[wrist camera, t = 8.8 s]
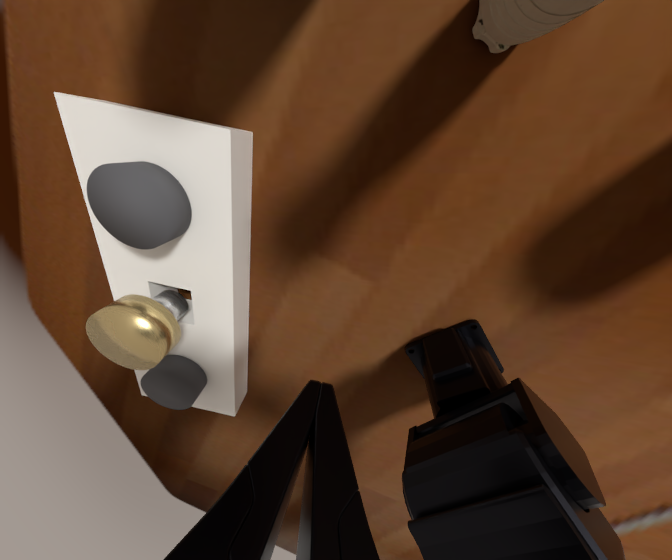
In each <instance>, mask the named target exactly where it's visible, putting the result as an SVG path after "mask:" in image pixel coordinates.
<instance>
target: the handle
mask: <svg viewBox="0 0 672 560" xmlns="http://www.w3.org/2000/svg"><path fill="white" fill-rule="evenodd" d="M603 1H604V0H479V13H478V17H477V20H476V23H475V25H474V27H473V29H472V31H473V35H474V38H475V39H480V40H482V41H484V42H485V43H486V44H487V45H488V47H489V51H490V52H491V53H500V52H503V51H505V50H507V49H508V48H509V47H510V46H511V45H516V44H521V43H524V42H528V41H530V40H533V39H535V38H538V37H540V36H542V35H545V34H547V33H549V32H551V31H553V30H554V29H557V28H558V27H560V26H562V25H564V24H566V23H568V22H569V21H571V20H573V19H575V18H576V17H578V16H580V15H581V14H583V13H585V12H586V11H588V10H590V9H591V8H593V7H595V6H596V5H598V4H599V3H601V2H603Z"/></svg>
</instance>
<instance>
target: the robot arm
mask: <svg viewBox="0 0 672 560" xmlns="http://www.w3.org/2000/svg"><path fill="white" fill-rule="evenodd" d="M472 325H475V326H473V327H471V326H472ZM410 349H413V350H410ZM405 351H406V354H407V355H408V356H409V358H410V359H411V361H412V362H413V364H414V365H415V366H416V368H417V369H418V371H419V372H420V373H421V375H422V376H423V378H424V379H425V382H426V386H427V391H428V395H429V399H430V403H431V407H432V412H433V416H434V419H433V420H430V421H428V422H426V423H424V424H422V425H420V426H418V427H417V426H414V427H412V428H410V429H409V435H408V442H407V450H406V457H405V464H404V471H403V473H402V482H403V494H404V498H405V503H406V506H407V509H408V512H409V514H410V517H411V519H412V520H410V521H408V528H409V530H410V532H411V534H412V536H413V537H414V539H415V541H416V543H417V545H418V547H419V549H420V551H421V554H422V556H423V558H424V560H625V555H624V551H623V547H622V544H621V541H620V539H619V538H618V536H617V534H616V533H615V531H614V530H613V528H612V527H611V525H610V524H609V523H608V521H607V520H606V518H605V517H604V515H603V514H602V512H601V511H600V510H599V507H603V506H606V503H605V500H604V497H603V495H602V492H601V490H600V488H599V485H598V483H597V480H596V478H595V476H594V473H593V471H592V468H591V466H590V463H589V461H588V459H587V456H586V454H585V452H584V450H583V449H582V447H581V446H580V445H579V443H578V442H577V441H576V439H575V438H574V437H573V435H572V434H571V433H570V431H569V430H568V429H567V427H566V426H565V425H564V423H563V422H562V421H561V419H560V418H559V417H558V416H557V414H556V413H555V412H554V411H553V410H552V409H551V408H550V407H548V406H547V405H546V404H545V403H544V402H543V401H542V400H541V399H540V398H539V397H538V396H537V395H536V394H535V393H534V392H533V391H532V390H531V389H530V388H529V387H528V386H527V385H526V384H525V383H524V382H523V381H522V380H521V379H520V378H517V379H515V380H513V381H511V383H510V384H507V382H506V381H505V379H504V377H503V376H502V374H501V373H503V371H504V369H503V367H502V365H501V363H500V361H499V359H498V358H497V356H496V354H495V352H494V350H493V348H492V346H491V344H490V343H489V341H488V339H487V337H486V335H485V333H484V331H483V329H482V328H481V326H480V324H479V322H478V321H477V320H473V319H472V320H469V321H466V322H464V323H461V324H459V325H456V326H454V327H451V328H449V329H446V330H443V331H441V332H438V333H436V334H433V335H431V336H428V337H426V338H423V339H421V340H418V341H416V342H413V343H411V344H408V345H407V346H406V347H405ZM309 436H310V437H309ZM308 441H309V442H308ZM307 445H308V448H307ZM306 448H307V456H306V466H305V476H304V486H303V496H302V506H301V516H300V526H299V536H298V546H297V556H296V560H380V559H379V556H378V553H377V550H376V547H375V544H374V541H373V538H372V535H371V532H370V529H369V525H368V521H367V518H366V514H365V511H364V507H363V503H362V499H361V495H360V492H359V491H358V489H359V488H358V484H357V480H356V476H355V472H354V468H353V464H352V460H351V456H350V452H349V448H348V444H347V440H346V436H345V432H344V428H343V424H342V420H341V416H340V412H339V408H338V404H337V400H336V396H335V392H334V388H333V386H332V384H329V383H324V382H323V383H321V382H319V381H315V380H310V381H309V382H308V383H307V384H306V386H305V387H304V388H303V390H302V391H301V392H300V394H299V395H298V396H297V398H296V399H295V400H294V402H293V403H292V404H291V406H290V407H289V408H288V410H287V411H286V412H285V414H284V415H283V416H282V418H281V419H280V420H279V422H278V423H277V424H276V426H275V427H274V428H273V430H272V431H271V432H270V434H269V435H268V436H267V438H266V439H265V440H264V441H263V443H262V444H261V445H260V447H259V448H258V449H257V451H256V452H255V453H254V455H253V456H252V457H251V459H250V460H249V461H248V463H247V465H245V466H244V468H243V469H242V470H241V472H240V473H239V474H238V476H237V477H236V478H235V480H234V481H233V482H232V483H231V485H230V486H229V487H228V488H227V490H226V491H225V492H224V493H223V495H222V496H221V497H220V498H219V499H218V500H217V501H216V503H215V504H214V505H213V506H212V507H211V508H210V509H209V511H208V512H207V513H206V514H205V515H204V516H203V517H202V518H201V519H200V521H199V522H198V523H197V524H196V525H195V526H194V527H193V528H192V529H191V530H190V531H189V532H188V534H187V535H186V536H185V537H184V538H183V539H182V540H181V541H180V543H178V544H177V546H176V547H175V548H174V549H173V550H172V551H171V552H170V553H169V554H168V555H167V557H166V558H165V559H164V560H270V559H271V556H272V553H273V550H274V547H275V544H276V541H277V538H278V535H279V531H280V528H281V525H282V522H283V519H284V516H285V513H286V510H287V507H288V504H289V501H290V498H291V495H292V492H293V489H294V486H295V483H296V479H297V476H298V473H299V470H300V467H301V464H302V461H303V458H304V455H305V452H306Z"/></svg>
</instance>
